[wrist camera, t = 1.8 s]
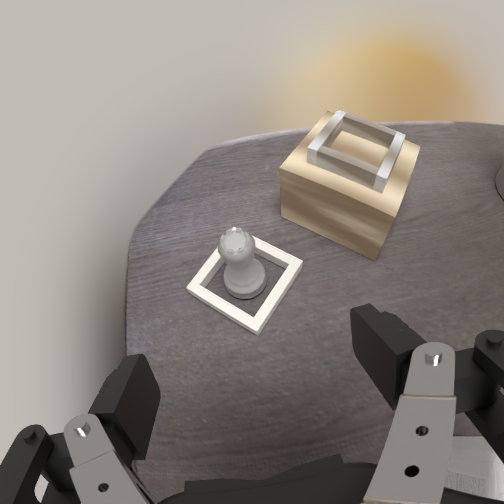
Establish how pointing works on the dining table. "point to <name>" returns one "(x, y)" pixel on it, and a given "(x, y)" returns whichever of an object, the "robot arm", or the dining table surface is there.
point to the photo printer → (475, 468)
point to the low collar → (272, 301)
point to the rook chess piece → (241, 264)
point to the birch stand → (347, 181)
